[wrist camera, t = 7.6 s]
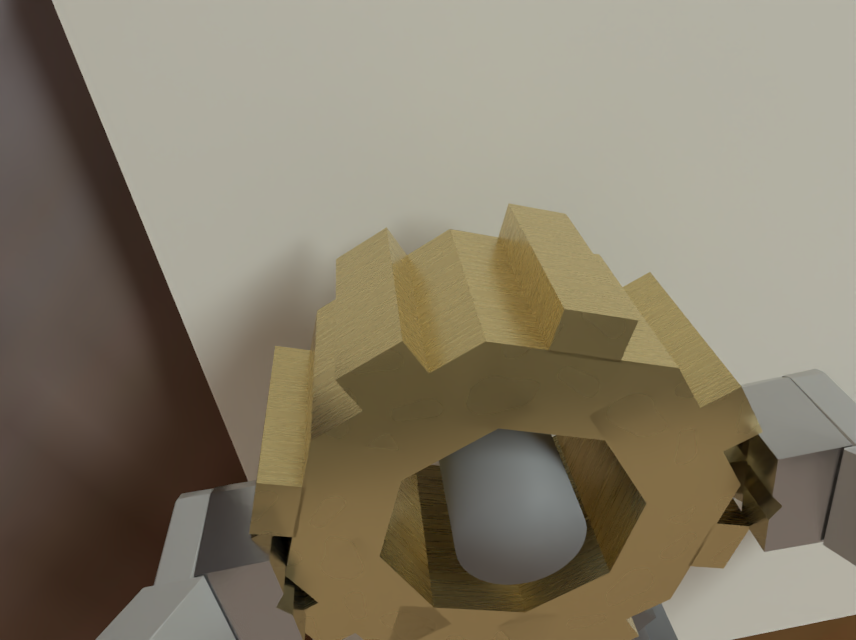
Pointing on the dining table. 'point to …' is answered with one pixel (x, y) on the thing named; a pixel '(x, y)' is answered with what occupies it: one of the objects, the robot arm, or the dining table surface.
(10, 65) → the dining table surface
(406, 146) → the gear board
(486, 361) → the gear
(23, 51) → the dining table surface
